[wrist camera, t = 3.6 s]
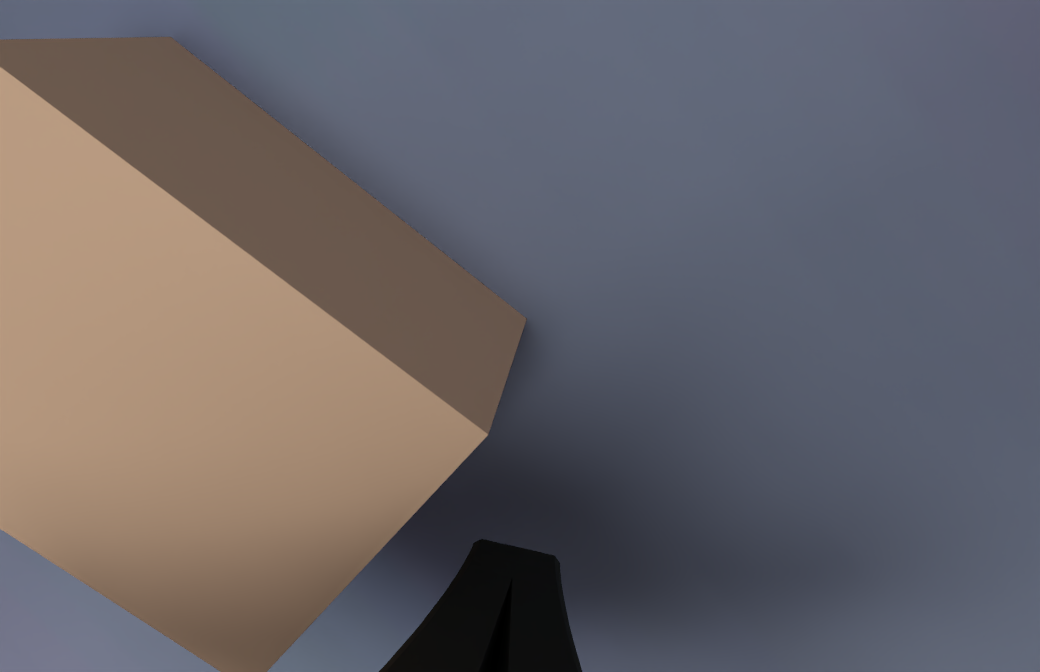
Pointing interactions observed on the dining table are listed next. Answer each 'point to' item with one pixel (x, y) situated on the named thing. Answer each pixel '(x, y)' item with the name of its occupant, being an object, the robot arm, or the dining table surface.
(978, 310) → the dining table surface
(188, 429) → the tan rectangular block
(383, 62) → the dining table surface
